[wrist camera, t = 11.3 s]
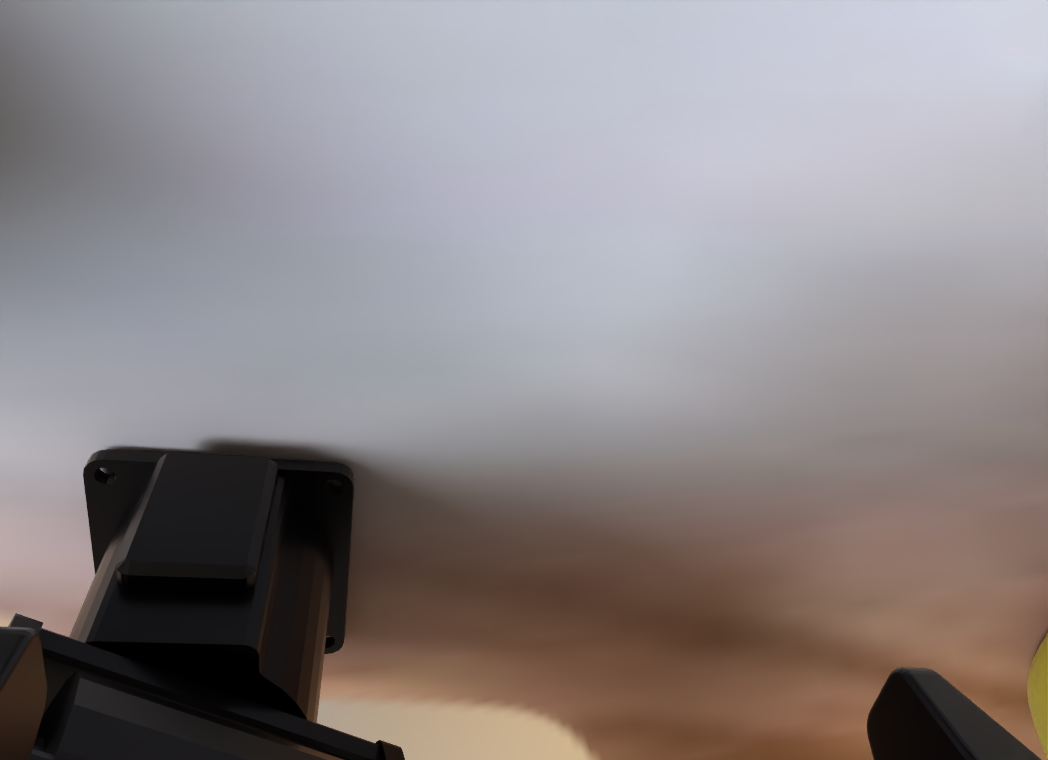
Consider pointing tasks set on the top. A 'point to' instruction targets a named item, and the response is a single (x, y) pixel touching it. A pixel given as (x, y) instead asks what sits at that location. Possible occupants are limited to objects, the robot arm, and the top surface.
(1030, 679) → the apple
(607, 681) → the top surface
